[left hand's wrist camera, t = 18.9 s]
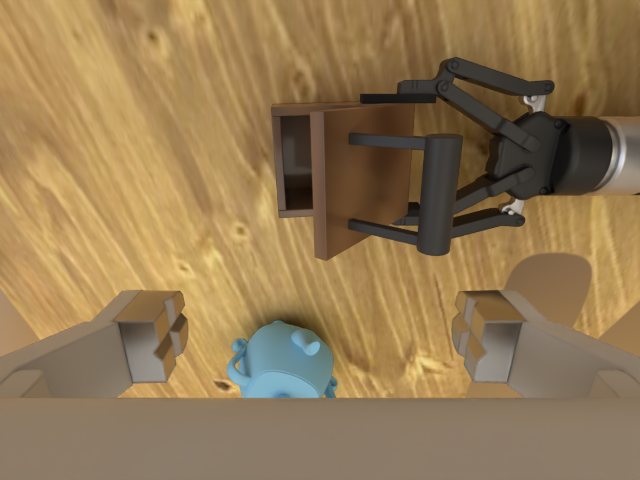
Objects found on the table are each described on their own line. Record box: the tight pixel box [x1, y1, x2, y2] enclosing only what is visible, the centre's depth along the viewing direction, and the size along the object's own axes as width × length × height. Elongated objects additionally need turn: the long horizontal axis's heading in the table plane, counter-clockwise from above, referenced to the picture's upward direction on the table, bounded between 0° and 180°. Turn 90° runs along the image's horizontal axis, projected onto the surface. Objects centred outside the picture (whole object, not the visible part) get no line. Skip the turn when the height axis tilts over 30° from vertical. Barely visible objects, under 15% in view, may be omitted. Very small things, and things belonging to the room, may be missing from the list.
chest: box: [271, 101, 400, 218], centre depth 37 cm, size 12×10×9 cm
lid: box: [310, 103, 463, 261], centre depth 26 cm, size 13×10×8 cm
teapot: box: [227, 320, 337, 398], centre depth 47 cm, size 13×14×11 cm
